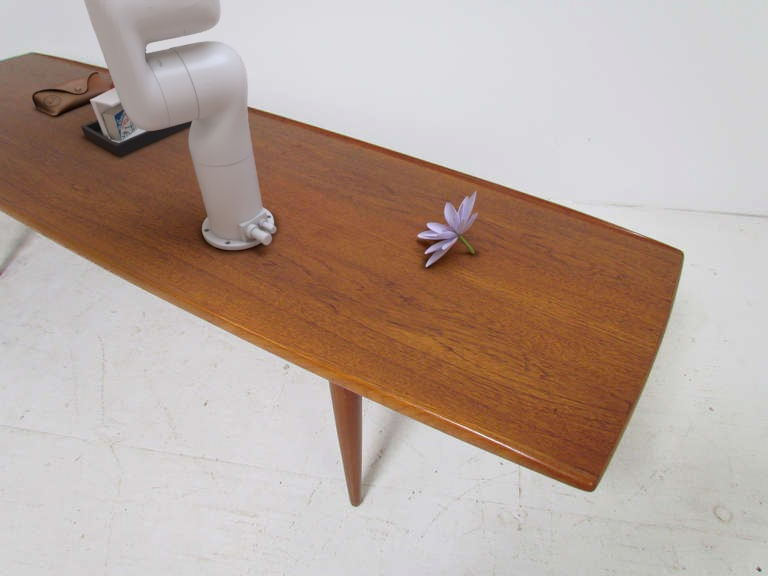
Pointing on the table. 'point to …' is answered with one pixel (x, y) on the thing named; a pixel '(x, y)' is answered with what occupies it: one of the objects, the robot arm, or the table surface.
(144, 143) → the tray
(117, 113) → the cigarette display
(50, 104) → the sunglasses case
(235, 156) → the robot arm
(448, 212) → the water lily
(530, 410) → the table surface
